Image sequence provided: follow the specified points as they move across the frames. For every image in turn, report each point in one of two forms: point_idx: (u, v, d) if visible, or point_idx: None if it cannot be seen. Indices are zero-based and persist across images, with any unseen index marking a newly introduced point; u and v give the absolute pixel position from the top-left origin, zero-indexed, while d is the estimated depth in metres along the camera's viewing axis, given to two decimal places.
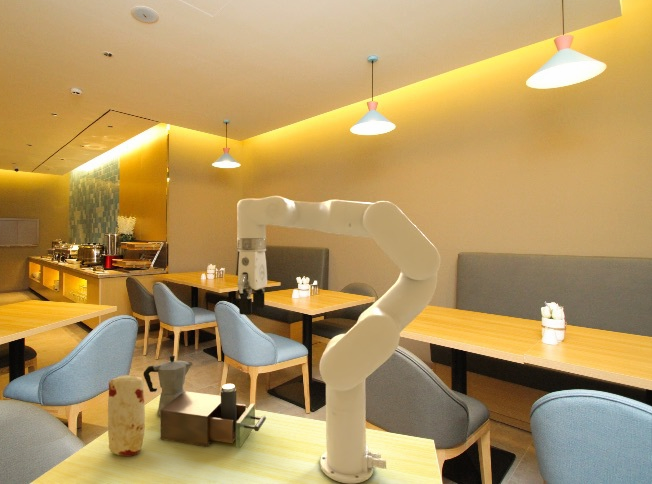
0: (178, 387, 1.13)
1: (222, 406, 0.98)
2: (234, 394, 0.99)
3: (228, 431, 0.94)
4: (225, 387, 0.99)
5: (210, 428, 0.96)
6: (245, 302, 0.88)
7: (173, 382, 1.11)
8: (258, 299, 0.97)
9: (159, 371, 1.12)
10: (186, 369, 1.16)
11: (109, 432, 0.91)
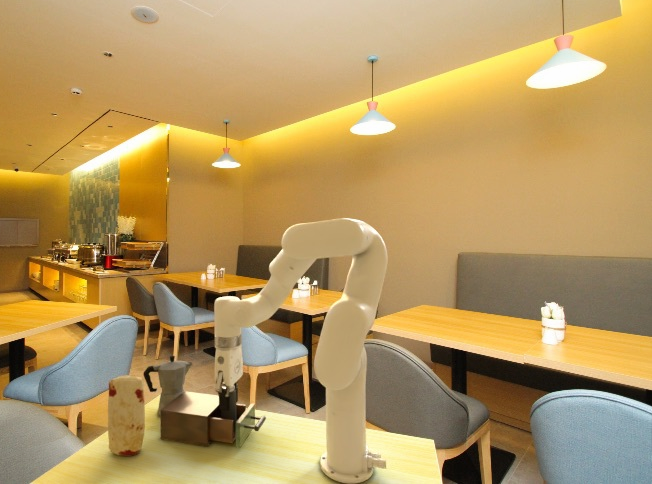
0: (178, 387, 1.13)
1: None
2: (234, 394, 0.99)
3: (228, 431, 0.94)
4: (225, 387, 0.99)
5: (210, 428, 0.96)
6: (224, 400, 0.97)
7: (173, 382, 1.11)
8: None
9: (159, 371, 1.12)
10: (186, 369, 1.16)
11: (109, 432, 0.91)
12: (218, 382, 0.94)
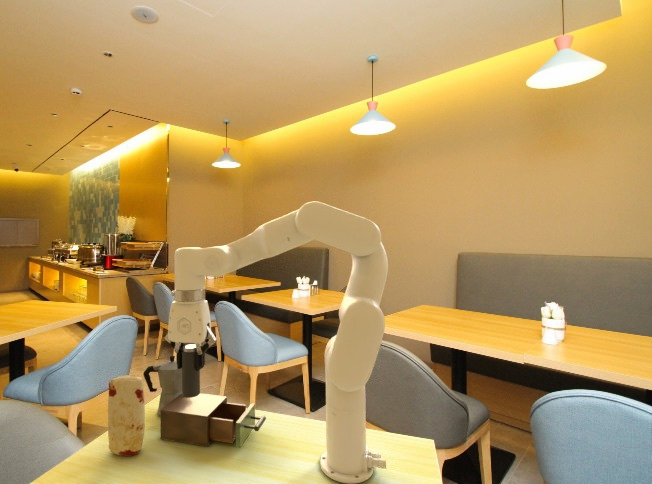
0: (178, 387, 1.13)
1: None
2: (184, 356, 0.88)
3: (228, 431, 0.94)
4: (187, 345, 0.90)
5: (210, 428, 0.96)
6: None
7: (173, 382, 1.11)
8: None
9: (159, 371, 1.12)
10: None
11: (109, 432, 0.91)
12: None
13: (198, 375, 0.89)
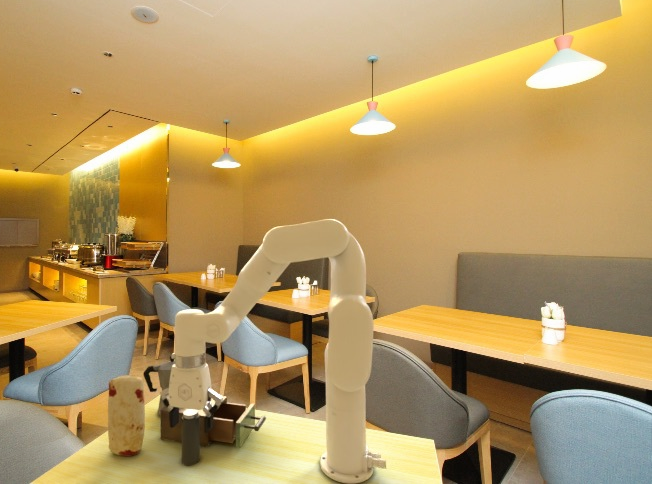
0: None
1: None
2: (184, 423, 0.88)
3: (228, 431, 0.94)
4: (187, 410, 0.90)
5: None
6: None
7: None
8: None
9: (159, 371, 1.12)
10: None
11: (109, 432, 0.91)
12: (167, 388, 0.92)
13: (198, 441, 0.89)
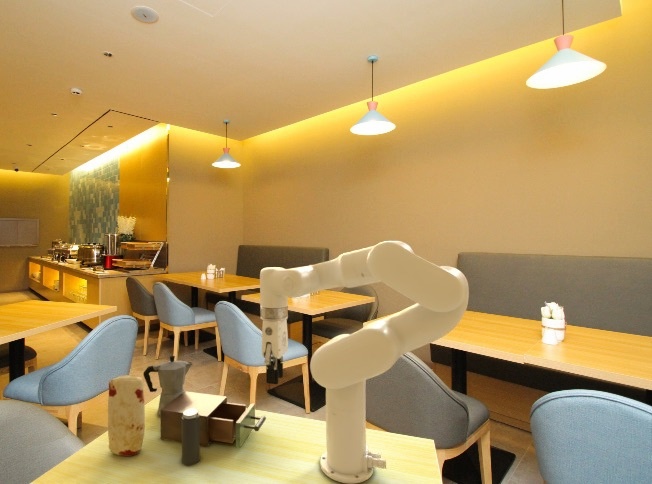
0: (178, 387, 1.13)
1: None
2: (184, 423, 0.88)
3: (228, 431, 0.94)
4: (187, 410, 0.90)
5: (210, 428, 0.96)
6: (272, 372, 0.93)
7: (173, 382, 1.11)
8: None
9: (159, 371, 1.12)
10: (186, 369, 1.16)
11: (109, 432, 0.91)
12: (267, 354, 0.91)
13: (198, 441, 0.89)
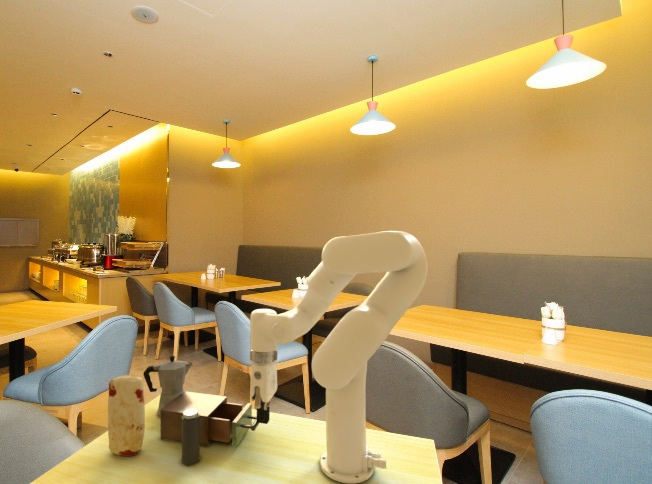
0: (178, 387, 1.13)
1: None
2: (184, 423, 0.88)
3: (224, 430, 0.95)
4: (187, 410, 0.90)
5: None
6: (262, 413, 0.96)
7: (173, 382, 1.11)
8: None
9: (159, 371, 1.12)
10: (186, 369, 1.16)
11: (109, 432, 0.91)
12: (256, 399, 0.93)
13: (198, 441, 0.89)
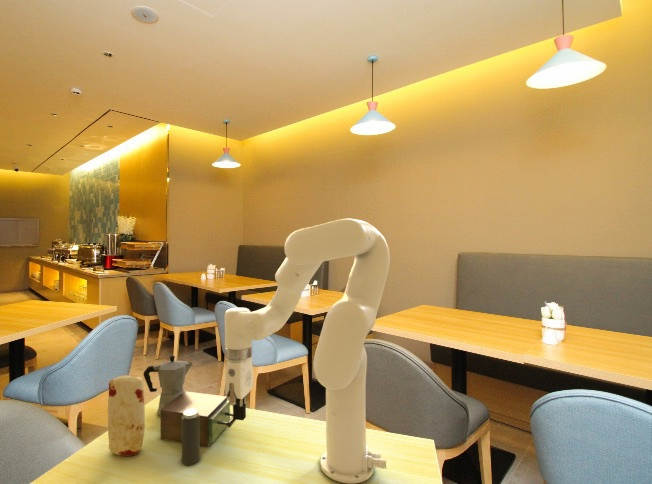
0: (178, 387, 1.13)
1: None
2: (184, 423, 0.88)
3: None
4: (187, 410, 0.90)
5: None
6: (238, 409, 0.98)
7: (173, 382, 1.11)
8: None
9: (159, 371, 1.12)
10: (186, 369, 1.16)
11: (109, 432, 0.91)
12: (231, 396, 0.95)
13: (198, 441, 0.89)
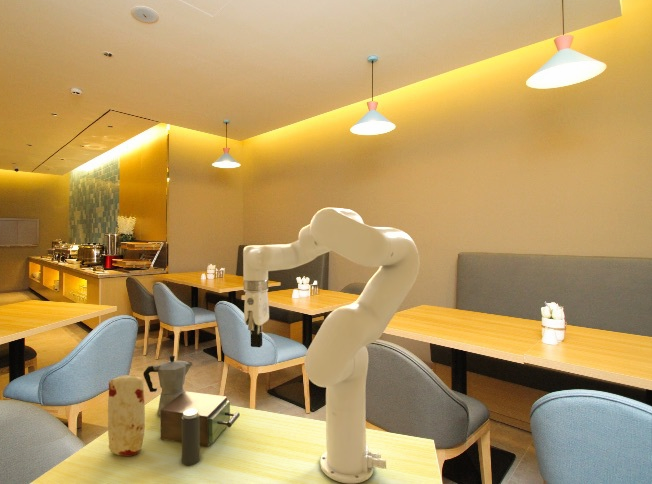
0: (178, 387, 1.13)
1: None
2: (184, 423, 0.88)
3: None
4: (187, 410, 0.90)
5: None
6: (255, 337, 1.06)
7: (173, 382, 1.11)
8: None
9: (159, 371, 1.12)
10: (186, 369, 1.16)
11: (109, 432, 0.91)
12: (250, 323, 1.03)
13: (198, 441, 0.89)
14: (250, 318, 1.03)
